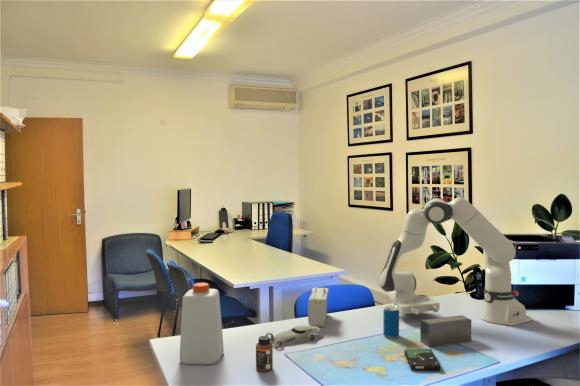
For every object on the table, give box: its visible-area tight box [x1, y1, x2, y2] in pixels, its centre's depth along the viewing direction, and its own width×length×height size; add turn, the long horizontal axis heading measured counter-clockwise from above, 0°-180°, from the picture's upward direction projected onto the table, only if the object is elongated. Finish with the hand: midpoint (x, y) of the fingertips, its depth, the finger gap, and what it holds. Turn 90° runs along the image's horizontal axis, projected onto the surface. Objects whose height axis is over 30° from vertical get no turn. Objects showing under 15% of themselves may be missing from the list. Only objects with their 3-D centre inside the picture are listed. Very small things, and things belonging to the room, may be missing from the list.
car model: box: [264, 325, 321, 349], centre depth 191 cm, size 11×24×5 cm, turn 118°
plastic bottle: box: [179, 282, 225, 366], centre depth 173 cm, size 15×15×28 cm
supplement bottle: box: [255, 335, 274, 373], centre depth 163 cm, size 6×6×11 cm
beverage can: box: [382, 306, 400, 339], centre depth 194 cm, size 6×6×12 cm
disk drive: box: [403, 348, 442, 372], centre depth 168 cm, size 10×3×15 cm
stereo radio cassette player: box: [307, 284, 330, 328], centre depth 215 cm, size 21×8×20 cm, turn 172°
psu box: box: [419, 314, 472, 348], centre depth 188 cm, size 20×6×9 cm, turn 107°
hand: (427, 311), depth 208 cm, fingers open, 8 cm apart
